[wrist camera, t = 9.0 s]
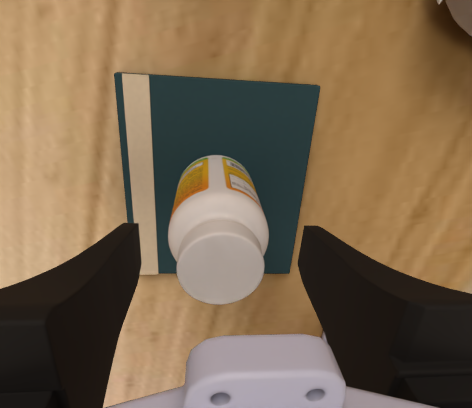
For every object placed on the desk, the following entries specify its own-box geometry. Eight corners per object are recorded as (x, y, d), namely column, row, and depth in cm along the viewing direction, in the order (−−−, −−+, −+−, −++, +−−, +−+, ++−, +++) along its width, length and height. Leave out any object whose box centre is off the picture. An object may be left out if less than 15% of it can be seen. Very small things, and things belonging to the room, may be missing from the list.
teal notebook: (287, 268, 27) (289, 274, 27) (134, 267, 26) (131, 274, 25) (317, 85, 21) (321, 86, 20) (116, 72, 20) (113, 72, 19)
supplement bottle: (180, 223, 24) (164, 320, 15) (175, 153, 21) (153, 220, 13) (251, 221, 24) (276, 314, 15) (254, 153, 22) (285, 217, 13)
